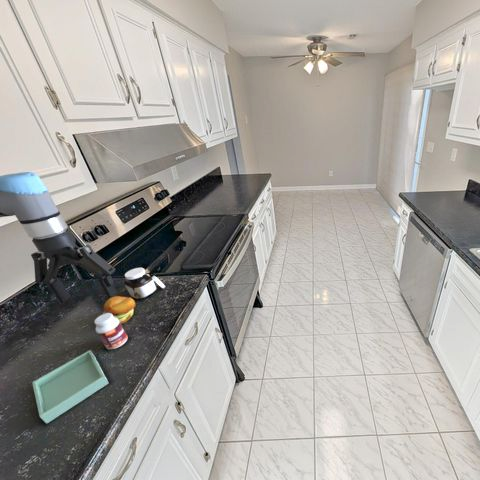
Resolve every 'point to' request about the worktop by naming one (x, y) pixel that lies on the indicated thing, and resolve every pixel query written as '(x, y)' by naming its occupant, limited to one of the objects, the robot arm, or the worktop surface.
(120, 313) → the cheeseburger
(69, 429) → the worktop surface
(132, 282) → the spread jar
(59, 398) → the tray
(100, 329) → the pill bottle
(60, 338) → the worktop surface
